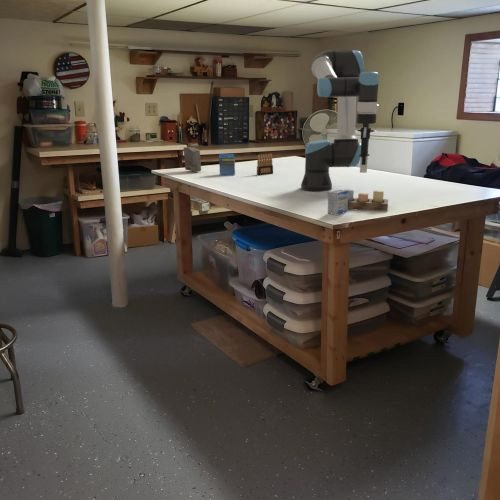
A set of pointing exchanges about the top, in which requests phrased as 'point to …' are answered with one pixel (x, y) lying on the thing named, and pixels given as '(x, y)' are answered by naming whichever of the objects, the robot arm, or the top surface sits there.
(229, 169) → the label tape box
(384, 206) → the button board
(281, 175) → the top surface
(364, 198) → the button terracotta
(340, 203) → the medicine box
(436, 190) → the top surface
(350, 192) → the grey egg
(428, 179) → the top surface
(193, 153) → the geological specimen
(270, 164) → the ammunition clip
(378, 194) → the button ochre
